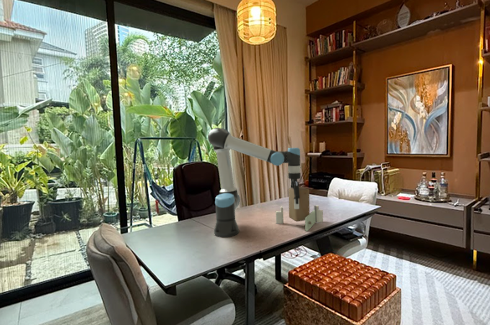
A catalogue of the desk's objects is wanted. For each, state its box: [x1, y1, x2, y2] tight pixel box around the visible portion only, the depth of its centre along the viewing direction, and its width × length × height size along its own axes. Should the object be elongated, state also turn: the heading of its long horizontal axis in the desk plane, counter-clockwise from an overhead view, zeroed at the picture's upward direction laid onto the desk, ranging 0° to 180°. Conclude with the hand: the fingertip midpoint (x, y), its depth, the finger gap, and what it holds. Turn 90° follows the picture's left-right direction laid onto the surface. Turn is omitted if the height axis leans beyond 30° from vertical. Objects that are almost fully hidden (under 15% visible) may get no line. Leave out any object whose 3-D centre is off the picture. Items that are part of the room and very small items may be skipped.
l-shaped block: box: [275, 205, 324, 225], centre depth 176 cm, size 31×2×11 cm, turn 89°
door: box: [304, 209, 317, 232], centre depth 166 cm, size 19×3×8 cm, turn 151°
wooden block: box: [288, 186, 311, 223], centre depth 169 cm, size 10×10×20 cm
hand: (295, 206), depth 168 cm, fingers closed on wooden block, 11 cm apart
